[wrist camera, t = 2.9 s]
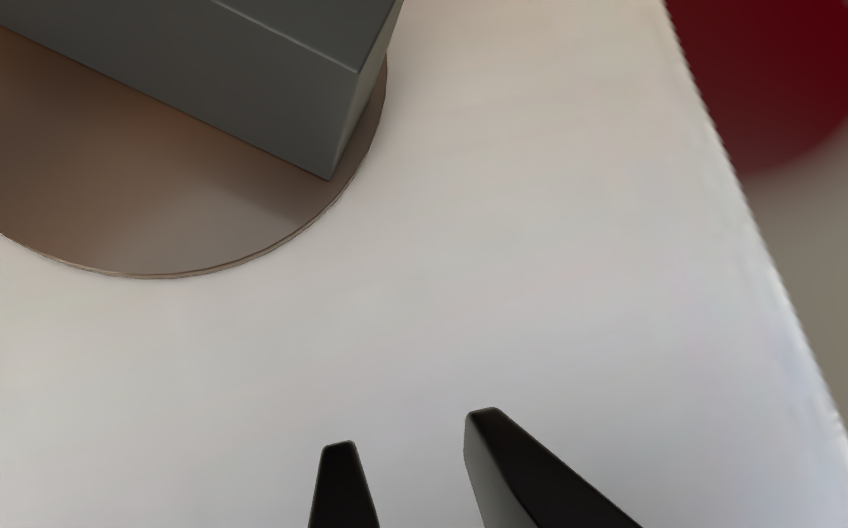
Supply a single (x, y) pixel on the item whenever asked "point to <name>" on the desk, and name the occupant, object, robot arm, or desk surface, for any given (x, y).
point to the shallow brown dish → (144, 174)
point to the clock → (232, 61)
